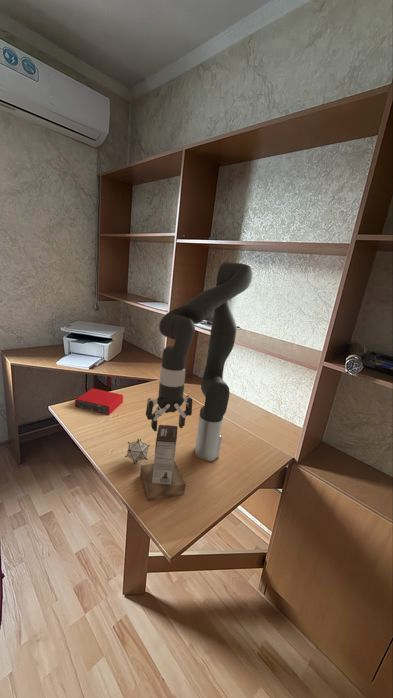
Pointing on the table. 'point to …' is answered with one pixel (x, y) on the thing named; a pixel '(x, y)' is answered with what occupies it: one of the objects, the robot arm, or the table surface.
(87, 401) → the red device housing
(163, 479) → the coffee box
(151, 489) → the walnut plinth
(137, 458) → the game die
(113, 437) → the table surface
